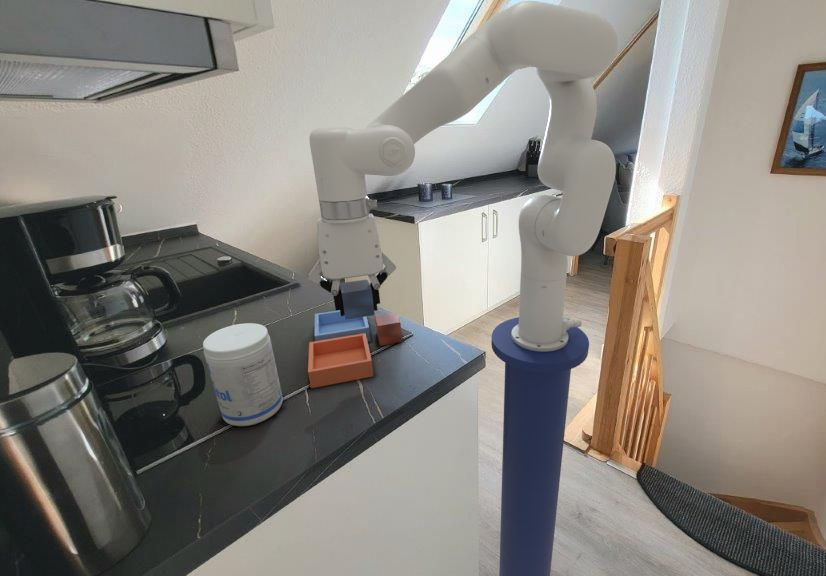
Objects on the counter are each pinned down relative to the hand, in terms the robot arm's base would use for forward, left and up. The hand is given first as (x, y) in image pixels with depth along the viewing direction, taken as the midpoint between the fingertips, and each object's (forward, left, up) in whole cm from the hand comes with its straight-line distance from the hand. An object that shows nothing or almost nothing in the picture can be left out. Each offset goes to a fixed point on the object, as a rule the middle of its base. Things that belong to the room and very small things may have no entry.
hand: (358, 309), depth 72 cm
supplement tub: (+20, +3, -15) cm, 25 cm away
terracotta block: (-6, -14, -15) cm, 22 cm away
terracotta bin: (+5, -6, -15) cm, 17 cm away
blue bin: (+4, -20, -15) cm, 25 cm away
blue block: (0, 0, 0) cm, 0 cm away
